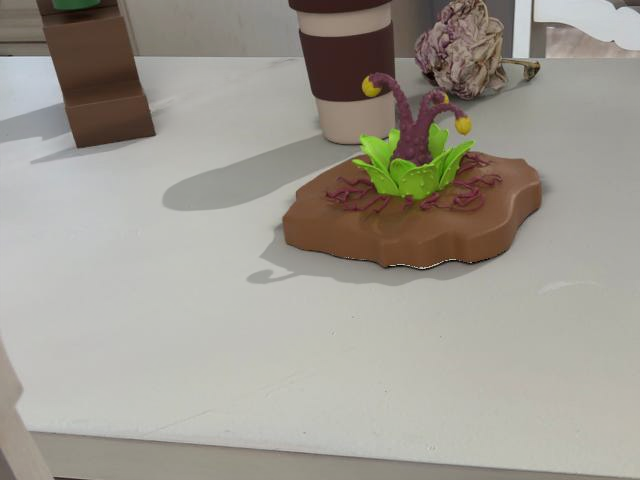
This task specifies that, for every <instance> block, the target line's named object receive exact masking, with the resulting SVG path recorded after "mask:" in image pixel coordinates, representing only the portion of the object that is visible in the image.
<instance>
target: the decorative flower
mask: <svg viewBox="0 0 640 480" xmlns="http://www.w3.org/2000/svg"><path fill="white" fill-rule="evenodd" d="M436 18H437V22H435V24H434V26H433V27H431V28H429V29H428V31H424V32H422V33H421V35H420V36H419V37H418V38H416V41H415V43H414V49H413V53H414V54H413V56H414V62H415V65H417V66H418V67H419V69H420V70H421V72H420V75H421V76H422V77H423V79H424V80H425V81H427V82H428V83H429V84H430V85H431V87H433V88H439V90H440V91H443V93H445V94H446V93H448V92H449V93H450V94H452V95H454V94H455V95H458V97H460V99H464V100H465V101H470V100H473V99H474V98H478V97H480V96H482V94H483V92H484V91H485V89H489V88H492V89H493V90H494V92H495V93H499V92H500V91H502V89H503V88H505V86H506V85H507V84H508V83H509V80H508V75H507V73H506V71H505V68H504V66H503V64H513V65H519V66H523V67H524V68H523V77H524V78H525V79H526V80H527V82H528V81H531V79H534V78H535V76H536V75H537V74H538V73H539V71H540V70H541V64H540V62H539V61H538V60H537V59H536V61H535V62H531V61H525V60H517V59H516V60H515V59H506V58H503V57H502V55H501V52H502V48H503V41H504V31H505V25H504V24H503V23H502V22H501V20H500V19H499V18H496V17H492V16H489V12H488V7H487V4H486V3H485V2H484V1H483V0H452V1H451V2H449V4H448V5H446V6H443V8H442V9H441V12H438V14H436Z"/></svg>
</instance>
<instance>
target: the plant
mask: <svg viewBox="0 0 640 480" xmlns="http://www.w3.org/2000/svg"><path fill="white" fill-rule="evenodd" d="M383 83H387V84H388V86H389V87H390V89H392V91H393V96H394V99H395V101H396V103H395V105H396V106H395V107H397V110H398V113H397V118H398V120H399V124H398V129H397V128H395V129H391V131H390V133H389V136H388V142H386V141H385V140H384V139H379V138H377V137H373V136H366V135H363V134H362V135H361V136H360V142H361V143H362V144H361V145H360V146H359V148H360V149H361V151H362V152H363V154H359V155H356V156H353V157H350V158H349V159H346V160H345V161H343V162H341V163H339V164H337V165H335V166H333V167H331V168H329V169H327V170H325V171H324V172H322V173H320V174H318V175H316V177H314V178H313V179H311V180H309V181H308V182H306V183H305V184H304V185H302V186H300V187H299V188H297V189H296V191H295V201H294V202H293V203H292V204H291V205H290V207H289V208H288V210H287V211H286V212H285V213H284V215H283V216H281V222H282V229H283V235H284V242H285V244H286V243H287V244H286V245H291V246H293V247H295V248H297V249H299V248H300V250H303V249H304V250H303V251H308V250H313V251H312V252H317V251H322V252H321V253H324V252H326V253H325V254H327V253H329V254H328V255H330V254H333V255H335V256H339V257H338V258H340V257H347V258H348V257H349V258H354V259H364V260H365V259H366V260H371V261H375V262H377V263H376V264H378V263H379V264H378V265H379V266H381V265H382V266H383V267H382V266H381V267H382V268H385V267H387V266H390V265H397V264H405V265H410V266H413V267H414V266H415V267H418V268H420V267H423V268H424V267H429V266H432V265H434V264H437V263H440V262H442V261H445V260H449V259H456V260H460V261H463V262H462V263H464V262H467V263H466V264H469V263H470V262H476V263H478V262H477V261H480V260H483V261H485V260H484V259H487V260H489V259H488V258H490V259H492V258H495V257H497V256H499V255H501V254H503V253H504V251H505V252H506V251H507V250H509V248H510V247H511V246H512V244H513V242H514V240H515V238H516V234H517V231H518V228H519V227H520V226H521V224H522V223H523V222H524V221H525V220H526V218H527V217H528V216H529V215H530V214H531V213H533V212H534V211H536V210H538V209H539V208H540V207H541V206H542V202H543V193H542V192H543V191H542V190H543V189H542V188H543V187H542V181H541V180H540V179H539V178H540V177H539V173H538V171H537V169H536V168H534V167H533V166H531V165H530V164H528V162H527V161H526V159H524V158H520V157H519V158H509V157H500V156H495V155H491V154H488V153H484V152H481V151H474V150H473V151H472V150H471V148H472V147H474V145H476V140H475V139H474V140H468V141H467V140H466V141H464V142H461V143H460V144H458V145H457V146H455V147H453V146H450V147H449V148H448V149H446V145H447V143H448V139H449V137H450V131H449V130H448V129H447V128H445V129H442V130H441V129H440V127H439V126H438V125H437V124H436V123H435V119H436V117H437V116H438V115H440V114H442V112H443V113H446V112H447V111H451V112H452V113H454V117H455V120H454V128H455V130H456V132H457V133H458V134H460V135H463V136H464V137H466V136H467V135H468V134H469V133H470V132H471V131H472V128H473V123H472V120H471V118H470V117H469V115H468V114H467V113H466V112H465V111H464V110H463V109H461V108H460V107H457V105H456V104H452V103H451V102H450V99H449V96H448V95H447V94H446V93H443V91H440V89H434V88H433V89H432V90H429V91H428V92H427V93H426V94H425V95H424V96H422V100H421V101H420V103H419V106H420V107H419V108H418V114H417V119H416V120H414V117H413V112H412V111H411V106H410V103H409V102H408V97H407V95H406V94H405V92H404V90H402V88H401V85H400V84H398V80H395V79H393V78H392V77H390V76H389V75H387V74H383V73H378V72H377V73H375V74H370V75H369V76H368V77H366V78H365V79H364V81H363V83H362V89H363V92H364V93H365V95H366V96H369V97H374V96H376V95H377V94H378V93H379V92H380V91H381V88H382V84H383ZM431 102H432V106H431V108H430V107H429V106H430V104H431ZM314 250H315V251H314ZM502 252H503V253H502ZM498 254H499V255H498ZM333 255H332V256H333ZM335 256H334V257H335ZM494 256H495V257H494ZM371 261H370V262H371ZM460 261H459V262H460ZM375 262H374V263H375ZM480 262H481V261H480ZM387 268H388V267H387Z"/></svg>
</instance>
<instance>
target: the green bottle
mask: <svg viewBox="0 0 640 480" xmlns="http://www.w3.org/2000/svg"><path fill="white" fill-rule="evenodd" d="M52 2H53V6H54V8H55V9H59V10H73V9H81V8H87V7H91V6H94V5H97V4H99V3H100V0H52Z"/></svg>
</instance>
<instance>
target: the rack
mask: <svg viewBox="0 0 640 480" xmlns="http://www.w3.org/2000/svg"><path fill="white" fill-rule="evenodd" d="M35 3H36V5H37V9H38V12H39V16H40V22H41V29H42V31H43V36H44V38H45V41H46V42H45V43H46V45H47V48H48V51H49V55H50V58H51V61H52V64H53V68H54V70H55V74H56V78H57V81H58V84H59V87H60V91H61V96H62V101H63V106H64V108H63V109H64V112H65V114H66V118H67V120H68V124H69V127H70V130H71V134H72V137H73V140H74V143H75V146H76V149H83V148H89V147H93V146H94V147H95V146H99V145H106V144H112V143H118V142H124V141H129V140H137V139H142V138H147V137H148V138H149V137H153V136H156V135H157V133H156V129H155V125H154V121H153V116H152V113H151V109H150V104H149V101H148V97H147V94H146V92H145V90H144V86H143V84H142V82H141V79H140V76H139V71H138V68H137V64H136V60H135V57H134V56H135V55H134V52H133V49H132V44H131V41H130V37H129V32H128V29H127V25H126V21H125V17H124V14H123V12H122V9H121V8H120V6H119V2H118V0H100V3H99V4H97V5H94V6H91V7H87V8H81V9H73V10H59V9H55V8H54V6H53V2H52V0H35Z"/></svg>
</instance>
